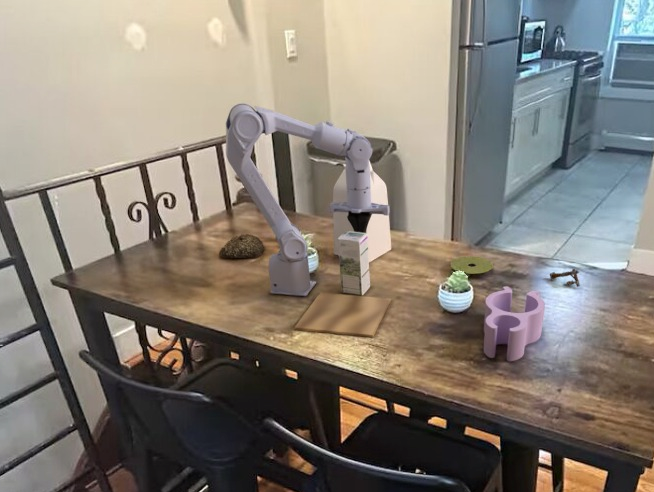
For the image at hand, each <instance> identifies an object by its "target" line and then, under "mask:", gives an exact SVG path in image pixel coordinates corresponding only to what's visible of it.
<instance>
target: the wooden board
mask: <svg viewBox="0 0 654 492" xmlns="http://www.w3.org/2000/svg"><path fill="white" fill-rule="evenodd" d="M391 302H392V298H389V297H388V298H387V297H376V296H366V295H362V296H360V295H353V294H344V293H329V292H319V293H318V295H317V296H316V298H315V299H314V300H313V302H312V303H311V304H310V305H309V307H308V308H307V309H306V311H305V312H304V313H303V315H302V316H301V317H300V319H299V321H298V322H297V323H296V324H295V326H294V329H293V330H295V331H303V332H304V331H306V332H315V333H316V332H317V333H326V334H336V335H347V336H357V337H365V338H367V337H368V338H373V337H374V336H375V334H376V331H377V330H378V328H379V326H380V324H381V322H382V321H383V318H384V316H385V314H386V312H387V310H388V308H389V307H390V305H391Z"/></svg>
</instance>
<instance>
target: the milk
mask: <svg viewBox="0 0 654 492" xmlns="http://www.w3.org/2000/svg"><path fill="white" fill-rule="evenodd" d="M369 167H370V187H371V203H376V204H382V205H389V200H388V189H387V184H386V183H385V181H384V180H383V179H382V178H381V177H380V176H379V175H378V174H377V173H376V172H375V171H374V169H373V167H372V163H371V161H370V160H369ZM345 168H346V165H345V167H344V169H343V171H342V172H341V174H340V175H339V177H338V178H337V180H336V182H335V183H334V186H333V189H332V202H347V185H346V169H345ZM347 216H348V212H332V219H333V220H332V221H333V225H332V227H333V255H335V256H339V250H338V238H339V237H340V236H341V235H342V234H343V233H344V232H346V231H352V232H354V229H353V227H352V225H351V224H350V222H349V221H348V218H347ZM366 233H367V234H368V253H369V263H371V262H373V261H375V260H376V259H378V258H380V257H381V256H383V255H384V254H386V253H388V252H390V251H391V250H392V239H391V225H390V214H389V215H388V216H386V215H384V214H372V215H371V218H370V220H369V223H368V226H367V229H366Z"/></svg>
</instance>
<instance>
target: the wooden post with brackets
mask: <svg viewBox="0 0 654 492" xmlns="http://www.w3.org/2000/svg"><path fill="white" fill-rule="evenodd" d="M578 274H580V270H578V269H576V268H572V269H571V271H568V270H567V271H563V272H555V271H552V272H550V273H549V278H550V281H554V280H556V279H557V278H561V277H562V278H565V277H568V276H571V277H572V280H568V281H566V283H565V284H566V285H567V286H574V284H575V285H576V287H580V286H581V285H580V280H579V278H578ZM573 279H574V280H573Z"/></svg>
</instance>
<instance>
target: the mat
mask: <svg viewBox="0 0 654 492" xmlns="http://www.w3.org/2000/svg"><path fill="white" fill-rule="evenodd" d="M450 268H451V269H453V270H454V271H456V270H460V271H464V272H466V273H465V274H468V275H469V274H471V275H472V274H473V275H475V274H483V273H487V272H489V271H491V270H492V269H493V268H494V264H493V262H492V261H491V260H489V259H487V258H484V257H480V256H462V257H457V258H455V259H453V260H452V261H451V262H450Z"/></svg>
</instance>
